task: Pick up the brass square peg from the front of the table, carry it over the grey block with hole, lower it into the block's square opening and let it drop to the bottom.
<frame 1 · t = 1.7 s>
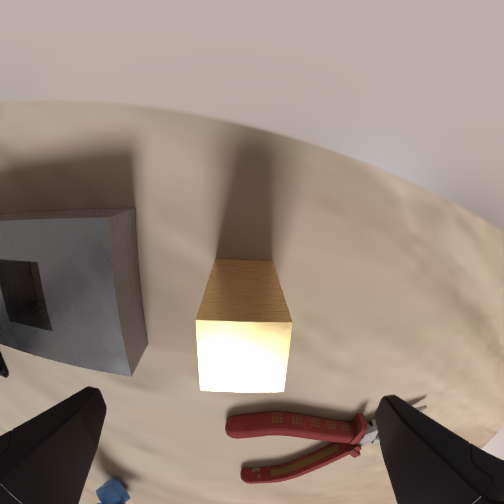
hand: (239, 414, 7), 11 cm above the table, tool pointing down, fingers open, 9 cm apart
grey block with hole: (51, 275, 18), on the table
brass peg: (243, 286, 19), on the table
grapes: (127, 486, 27), on the table
pliers: (320, 440, 24), on the table
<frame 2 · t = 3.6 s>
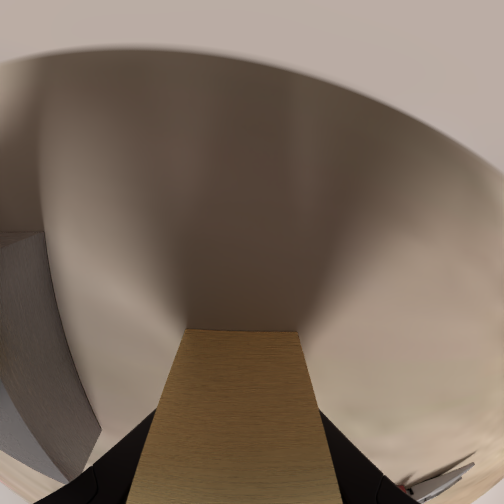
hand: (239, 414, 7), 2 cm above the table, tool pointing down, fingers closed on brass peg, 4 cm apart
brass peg: (240, 373, 9), on the table, touching gripper
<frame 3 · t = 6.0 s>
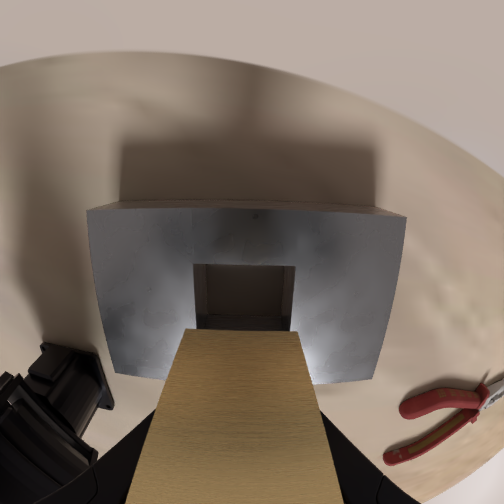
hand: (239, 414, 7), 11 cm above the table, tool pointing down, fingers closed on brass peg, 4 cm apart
grey block with hole: (244, 281, 18), on the table
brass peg: (240, 373, 9), point 9 cm above the table, touching gripper
pliers: (447, 413, 24), on the table
when the fingers open (5 cm above the table, at t = 8.3 s): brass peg drops 3 cm, resting in grey block with hole.
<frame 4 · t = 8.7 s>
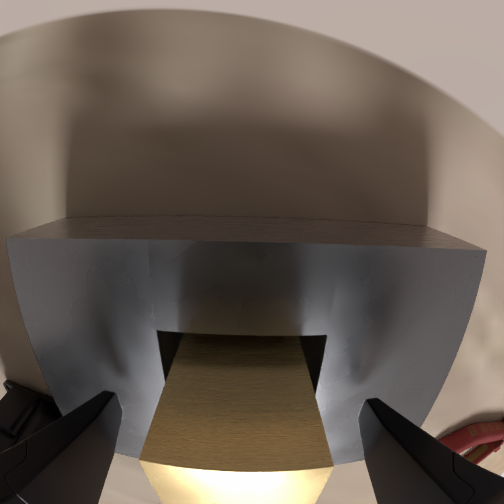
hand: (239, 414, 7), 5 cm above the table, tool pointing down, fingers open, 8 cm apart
grey block with hole: (243, 333, 12), on the table
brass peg: (242, 332, 12), resting in grey block with hole
pliers: (471, 444, 18), on the table
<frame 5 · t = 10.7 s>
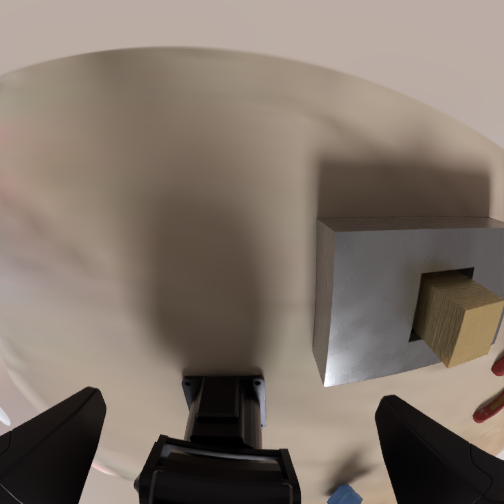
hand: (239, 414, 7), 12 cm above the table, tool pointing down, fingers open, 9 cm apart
grey block with hole: (415, 282, 19), on the table
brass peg: (414, 282, 19), resting in grey block with hole
grapes: (342, 489, 28), on the table
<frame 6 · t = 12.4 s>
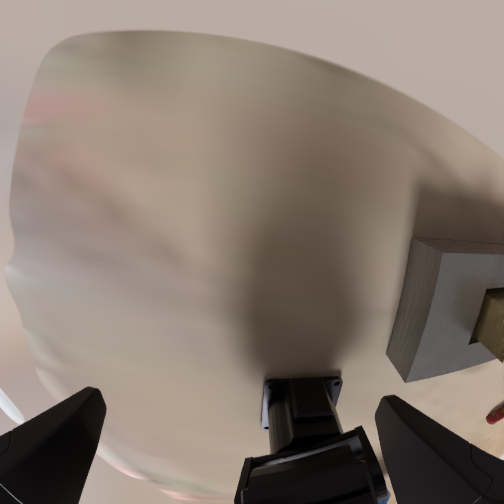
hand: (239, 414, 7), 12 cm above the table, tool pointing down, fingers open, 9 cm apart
grey block with hole: (468, 296, 20), on the table
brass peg: (467, 296, 20), resting in grey block with hole
grapes: (367, 487, 29), on the table
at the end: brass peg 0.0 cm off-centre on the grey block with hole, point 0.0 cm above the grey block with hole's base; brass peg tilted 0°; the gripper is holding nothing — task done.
